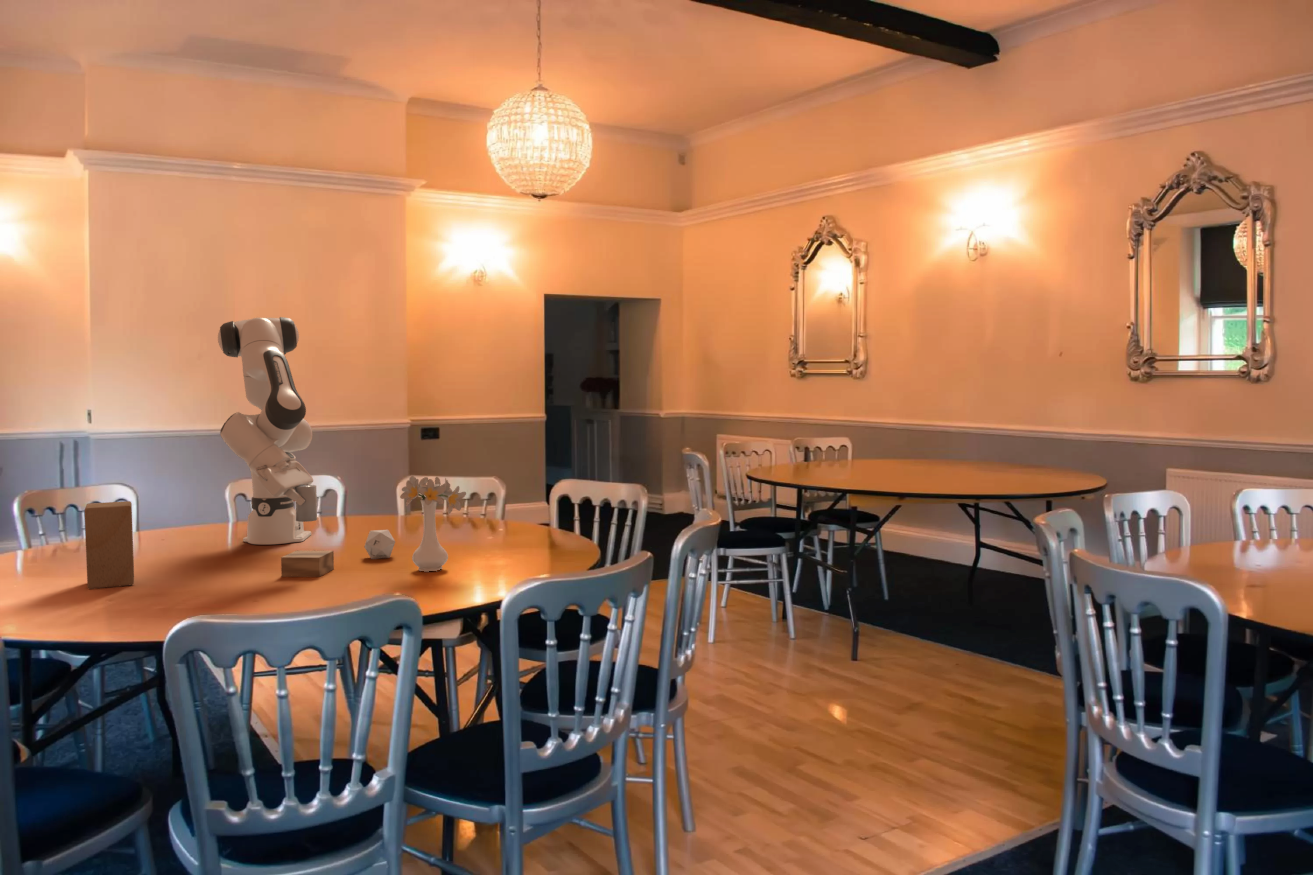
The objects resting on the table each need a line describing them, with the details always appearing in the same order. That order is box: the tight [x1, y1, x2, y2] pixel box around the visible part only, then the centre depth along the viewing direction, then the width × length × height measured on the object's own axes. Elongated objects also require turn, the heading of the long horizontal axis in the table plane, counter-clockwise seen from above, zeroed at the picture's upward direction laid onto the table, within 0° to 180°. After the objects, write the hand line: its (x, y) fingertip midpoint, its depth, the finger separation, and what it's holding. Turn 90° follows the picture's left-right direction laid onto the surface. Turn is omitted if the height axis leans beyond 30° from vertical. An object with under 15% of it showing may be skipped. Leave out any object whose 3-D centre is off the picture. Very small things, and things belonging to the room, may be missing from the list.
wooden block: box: [84, 500, 135, 590], centre depth 245 cm, size 10×10×20 cm
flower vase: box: [399, 475, 467, 573], centre depth 262 cm, size 13×18×25 cm
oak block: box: [280, 549, 335, 578], centre depth 259 cm, size 10×10×5 cm
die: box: [364, 529, 396, 560], centre depth 280 cm, size 8×9×10 cm
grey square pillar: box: [295, 484, 318, 523], centre depth 258 cm, size 5×5×9 cm
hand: (308, 501), depth 258 cm, fingers closed on grey square pillar, 5 cm apart
